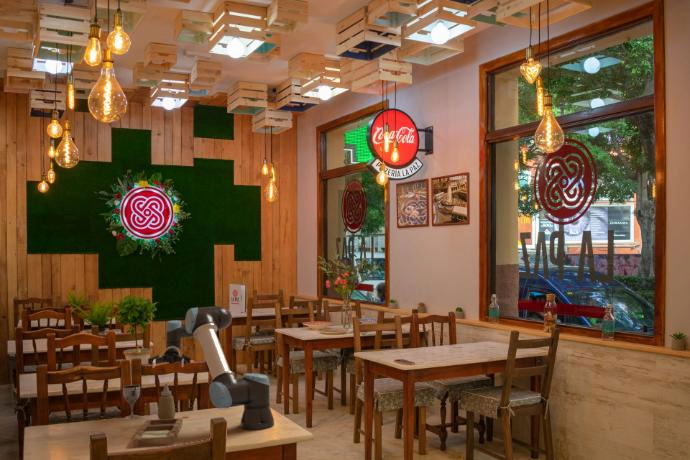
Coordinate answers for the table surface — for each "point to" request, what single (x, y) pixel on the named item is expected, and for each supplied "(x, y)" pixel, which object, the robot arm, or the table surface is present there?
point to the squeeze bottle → (166, 404)
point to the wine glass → (131, 397)
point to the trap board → (158, 432)
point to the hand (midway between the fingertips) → (167, 364)
